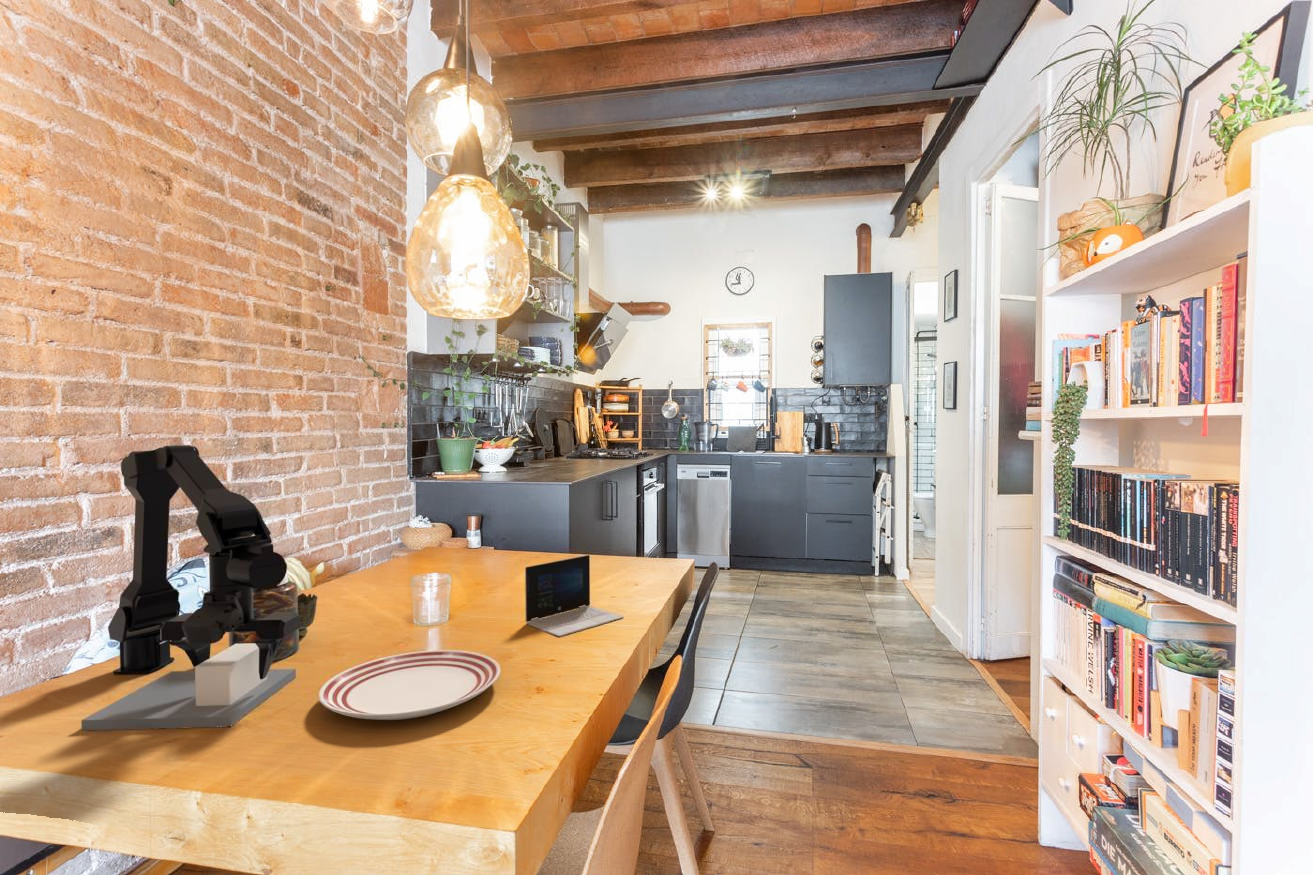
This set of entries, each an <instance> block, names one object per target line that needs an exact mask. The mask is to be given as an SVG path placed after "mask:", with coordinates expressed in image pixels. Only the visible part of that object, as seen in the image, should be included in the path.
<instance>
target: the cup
mask: <svg viewBox="0 0 1313 875" xmlns="http://www.w3.org/2000/svg"><path fill="white" fill-rule="evenodd" d="M317 601H318V596H317V594H311V593H310V594H308V595H307V594H306V593H304V592H303V593H299V595H298V615H299V616H300V622H301V627H300V628H299V638H302V637H303V638H304V636H306V635H307V634H308V630H309V629H308V627H310V626H311V625H312V624H313V623H314V620H315V617H316V610H317V603H318V602H317Z"/></svg>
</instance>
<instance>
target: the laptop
mask: <svg viewBox="0 0 1313 875" xmlns="http://www.w3.org/2000/svg"><path fill="white" fill-rule="evenodd" d="M590 559H591V557H590V555H589V554H586V555H580V556H575V557H571V558H565V559H561V560H560V559H559V560H554V561H549V562H545V563H544V562H543V563H540V564H539V563H538V564H535V565H534V564H533V565H528V566H525V568H524V572H525V573H524V577H525V578H524V579H525V580H524V581H525V582H524V583H525V584H524V585H525V588H524V591H525V593H524V594H525V595H524V596H525V622H526V625H527V624H528V626H529V625H531V626H530V627H532V626H533V627H532V628H534V627H535V629H538V630H539V631H541V630H542V632H544V633H547V634H549V635H550V634H551V635H553V636H556V637H559V638H560V637H564V636H567V635H570V634H574V633H577V632H582V631H583V630H587V629H590V628H595V627H598V626H601V625H604V624H607V623H611V621H612V622H614V620H615V621H618V620H621V619H624V616H623V615H620V614H617V613H615V612H611V611H608V610H605V609H602V608H598V607H595V606H592V605H591V597H590V596H591V590H590V589H591V583H590V582H591V581H590V580H591V578H590V577H591V576H590V574H591V572H590V570H591V568H590V566H591V565H590Z"/></svg>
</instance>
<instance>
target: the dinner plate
mask: <svg viewBox="0 0 1313 875" xmlns="http://www.w3.org/2000/svg"><path fill="white" fill-rule="evenodd" d="M500 675H501V667H500V664H499V663H498V662H497V661H496V660H495V659H493V658H492V657H490V656H488V655H485V654H482V653H478V652H474V651H473V652H472V651H467V650H457V649H455V650H454V649H437V650H434V649H433V650H421V651H413V652H405V653H399V654H395V655H394V654H393V655H389V656H384V657H381V658H377V659H373V660H369V661H366V662H363V663H360V664H357V665H355V666H353V667H350V668H347V669H345V670H344V671H341V672H340V673H338V674H336V675H334V676H333V677H331V678H330V679H329V680H327V681H326V682H325V683H324V684H323V685H322V686H321V687H320V690H319V691H318V700H319V703H320V704H321V705H322V706H324V707H325V708H326V709H328V710H330V711H332V712H334V713H337V714H340V715H342V716H346V717H352V718H355V719H362V720H378V721H399V720H409V719H416V718H422V717H426V716H430V715H433V714H436V713H440V712H443V711H445V710H448V709H450V708H454V707H456V706H458V705H462V704H464V703H465V702H468V701H469V700H471V699H473V698H476V697H477V696H479V695H480V694H481V693H483V692H484V691H486V690H488V688H490V687H491V686H492V685H493V684H494V683H495V682H496V681H497V679H498V678H499V677H500Z"/></svg>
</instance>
